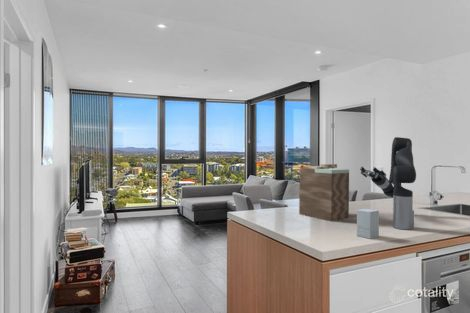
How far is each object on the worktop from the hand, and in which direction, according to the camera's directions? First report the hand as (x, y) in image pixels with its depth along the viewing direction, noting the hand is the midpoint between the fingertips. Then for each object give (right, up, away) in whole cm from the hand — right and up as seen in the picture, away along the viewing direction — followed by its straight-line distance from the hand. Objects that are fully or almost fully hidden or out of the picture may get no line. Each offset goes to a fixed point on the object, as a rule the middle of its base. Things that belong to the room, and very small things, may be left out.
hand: (367, 168), depth 196 cm
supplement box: (-17, -31, -42) cm, 55 cm away
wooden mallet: (-22, -1, +19) cm, 29 cm away
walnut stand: (-25, -31, +8) cm, 40 cm away
